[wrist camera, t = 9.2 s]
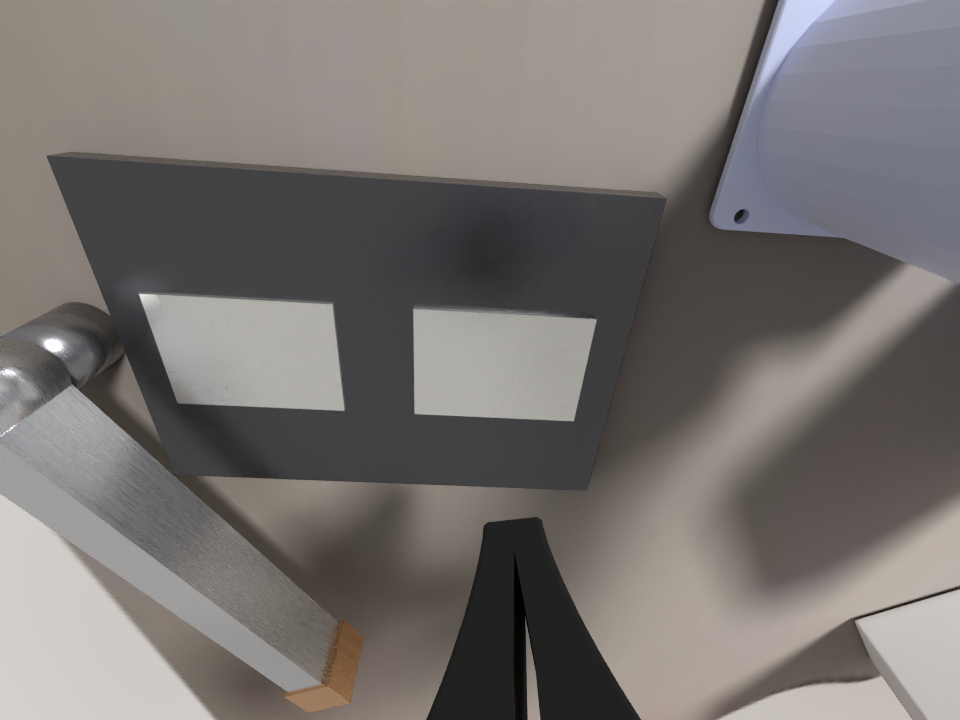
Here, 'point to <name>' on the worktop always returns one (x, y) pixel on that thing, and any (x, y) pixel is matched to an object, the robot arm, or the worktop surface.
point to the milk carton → (919, 654)
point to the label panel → (356, 317)
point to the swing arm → (160, 532)
